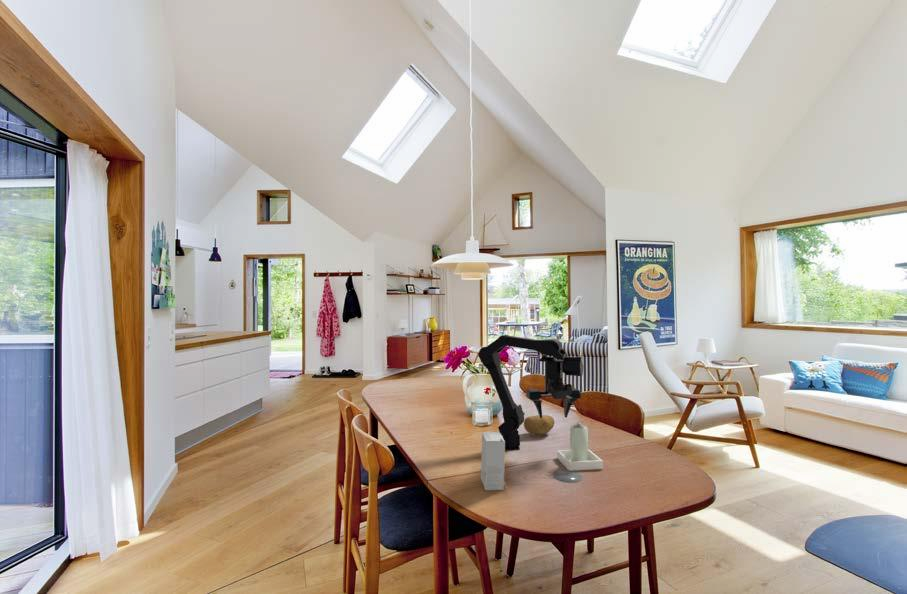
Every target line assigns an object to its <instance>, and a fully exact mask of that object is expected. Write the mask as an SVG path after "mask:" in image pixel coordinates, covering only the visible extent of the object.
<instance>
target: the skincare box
mask: <svg viewBox="0 0 907 594" xmlns="http://www.w3.org/2000/svg"><path fill="white" fill-rule="evenodd" d="M505 454H506V450H505V441H504V439H503V436H502V435H501V434H500V432H499V431H498V432H497V431H493V432H492V431H490V432H489V431H488V432H487V431H483V432H481V460H480V461H481V465H480V466H481V467H480V480H481V482H482V484H483V488H484V491H505V463H506V462H505V460H506V459H505V457H506V455H505Z"/></svg>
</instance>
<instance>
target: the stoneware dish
mask: <svg viewBox="0 0 907 594" xmlns="http://www.w3.org/2000/svg"><path fill="white" fill-rule="evenodd" d="M556 458H557V459H558V461H559V462H560V464H562V465H563V466H564V467H565V468H566V469H567V470H568V471H569V472H574V471H589V470H590V471H592V470H593V471H594V470H604V460H603V459H602V458H600V457H599V456H598V455H596V454H595V453H594V452H593V451H591V450H590V449H588V461H571V462H570V449H560V450H556Z"/></svg>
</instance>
